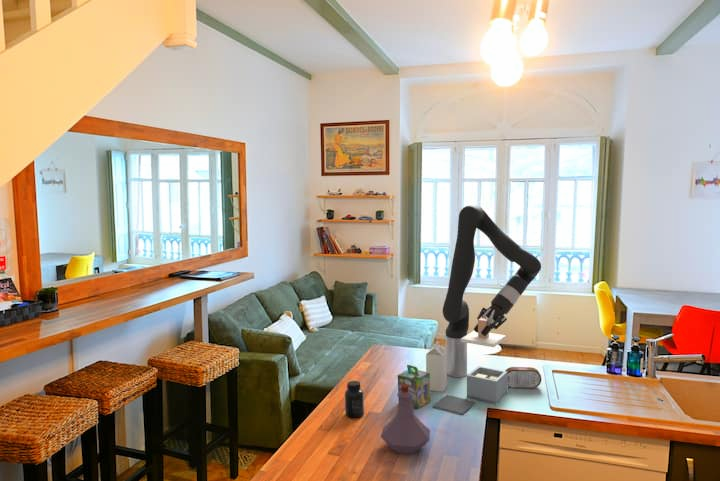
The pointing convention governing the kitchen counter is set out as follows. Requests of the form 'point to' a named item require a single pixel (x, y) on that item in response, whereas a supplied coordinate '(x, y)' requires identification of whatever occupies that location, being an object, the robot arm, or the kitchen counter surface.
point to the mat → (454, 404)
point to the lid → (479, 339)
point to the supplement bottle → (354, 400)
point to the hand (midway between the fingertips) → (479, 332)
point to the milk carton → (437, 367)
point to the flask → (405, 427)
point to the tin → (523, 377)
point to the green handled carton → (416, 385)
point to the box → (487, 384)
